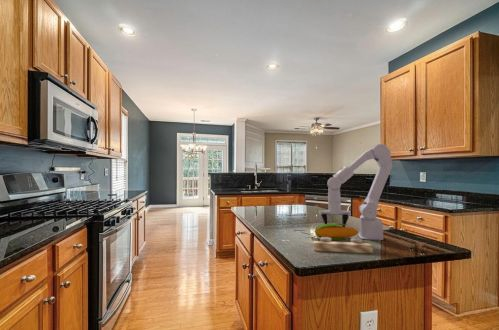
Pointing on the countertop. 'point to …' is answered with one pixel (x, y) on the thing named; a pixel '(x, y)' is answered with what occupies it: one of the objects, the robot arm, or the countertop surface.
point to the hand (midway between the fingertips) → (334, 229)
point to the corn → (335, 231)
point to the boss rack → (343, 246)
